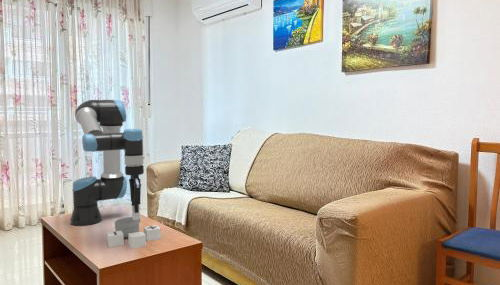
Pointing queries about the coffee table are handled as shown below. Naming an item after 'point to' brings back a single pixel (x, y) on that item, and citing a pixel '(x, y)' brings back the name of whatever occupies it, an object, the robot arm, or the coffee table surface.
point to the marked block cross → (152, 232)
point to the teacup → (127, 225)
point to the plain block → (137, 239)
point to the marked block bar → (115, 239)
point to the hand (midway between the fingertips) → (136, 219)
